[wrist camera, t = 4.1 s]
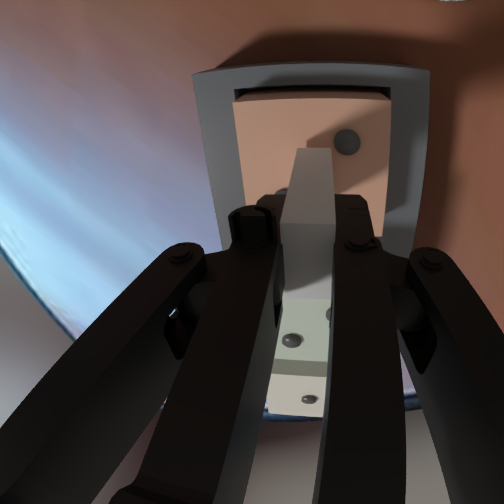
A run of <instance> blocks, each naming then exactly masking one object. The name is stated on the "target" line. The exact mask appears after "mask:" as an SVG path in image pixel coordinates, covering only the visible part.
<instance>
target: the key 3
mask: <svg viewBox="0 0 504 504" xmlns="http://www.w3.org/2000/svg"><path fill="white" fill-rule="evenodd" d="M232 103H233V111H234V118H235V126H236V133H237V141H238V148H239V156H240V164H241V171H242V179H243V186H244V194H245V201H246V206H247V205H256V202H257V200H259V199H260V198H261V197H262V196H264V195H265V194H287V190H288V186H289V182H290V178H291V173H292V169H293V165H294V160H295V156H296V152H297V148H331V153H332V166H333V180H334V194H358V195H361V196H362V197H363V198H364V199H365V200H366V201H367V203H368V208H369V212H370V216H371V221H372V225H373V230H374V235H375V236H380V237H382V231H383V223H384V214H385V205H386V194H387V183H388V170H389V154H390V132H391V100H389V99H388V98H387V97H386V96H384V95H383V94H382V93H381V92H379V91H378V90H377V89H364V88H282V89H264V90H251V91H249V92H247V93H246V94H244V95H243V96H241V97H240V98H238V99H237V100H235V101H234V102H232Z"/></svg>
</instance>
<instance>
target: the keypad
mask: <svg viewBox="0 0 504 504" xmlns="http://www.w3.org/2000/svg"><path fill="white" fill-rule="evenodd" d="M192 79H193V85H194V91H195V98H196V104H197V110H198V116H199V122H200V128H201V134H202V140H203V146H204V151H205V157H206V163H207V168H208V174H209V180H210V185H211V191H212V196H213V202H214V207H215V212H216V218H217V223H218V228H219V234H220V239H221V244H222V249H223V251H224V250H227V249H229V247H230V245H231V242H232V239H231V233H230V227H229V221H228V215H229V214H230V213H231V212H232V211H234V210H235V209H237V208H240V207H243V206H246V201H245V194H244V186H243V179H242V171H241V164H240V156H239V148H238V141H237V133H236V126H235V118H234V111H233V103H232V102H234V101H235V100H237V99H238V98H240V97H241V96H243V95H244V94H246V93H247V92H249V91H251V90H264V89H282V88H364V89H377V90H378V91H379V92H381V93H382V94H383V95H384V96H386V97H387V98H388V99H389V100H391V132H390V154H389V170H388V183H387V194H386V205H385V214H384V223H383V231H382V237H380V236H375V237H376V238H377V239H379V241H380V242H381V244H382V248H383V250H385V251H387V252H389V253H391V254H394V255H397V256H400V257H404V258H408V259H409V256H410V253H411V251H412V246H413V241H414V236H415V231H416V225H417V219H418V213H419V207H420V201H421V194H422V186H423V179H424V170H425V161H426V151H427V139H428V125H429V105H430V70H426V69H423V68H419V67H415V66H411V65H404V64H394V63H381V62H366V61H334V60H316V61H285V62H269V63H256V64H245V65H236V66H228V67H220V68H214V69H210V70H206V71H202V72H199V73H195V74H192Z"/></svg>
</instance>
